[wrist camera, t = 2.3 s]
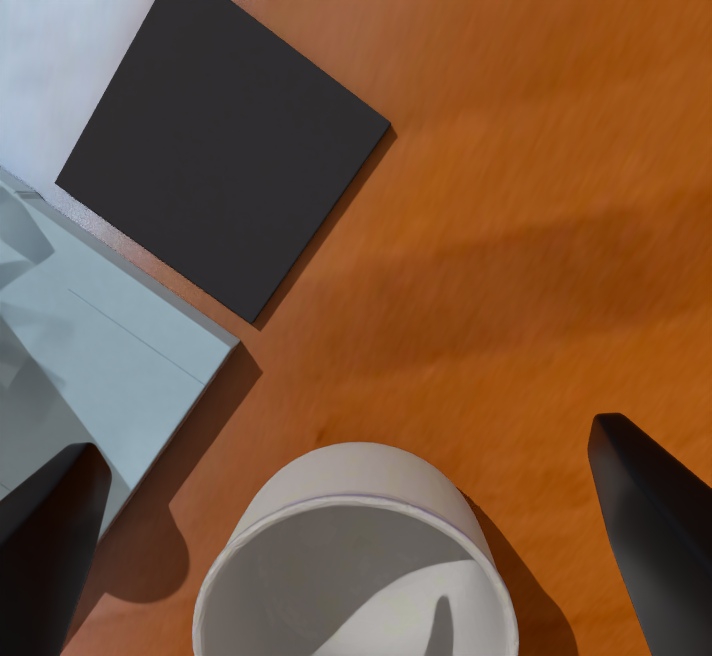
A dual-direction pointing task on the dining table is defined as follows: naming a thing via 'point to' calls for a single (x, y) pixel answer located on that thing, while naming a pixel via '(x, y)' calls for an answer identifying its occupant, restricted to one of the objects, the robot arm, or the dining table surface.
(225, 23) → the mat
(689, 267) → the dining table surface
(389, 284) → the dining table surface
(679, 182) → the dining table surface
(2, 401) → the light blue flat square
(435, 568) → the teacup
